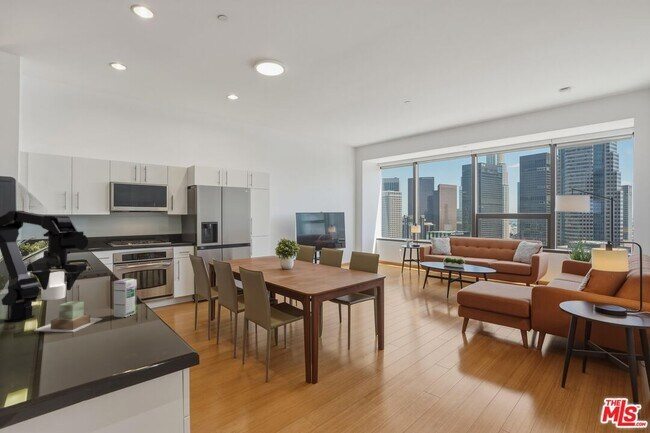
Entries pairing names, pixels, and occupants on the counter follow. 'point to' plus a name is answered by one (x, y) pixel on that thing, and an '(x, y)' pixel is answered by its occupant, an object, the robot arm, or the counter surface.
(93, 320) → the board
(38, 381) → the counter surface
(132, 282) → the syrup box
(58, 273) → the cylinder with rectangular tab
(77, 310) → the sage block
